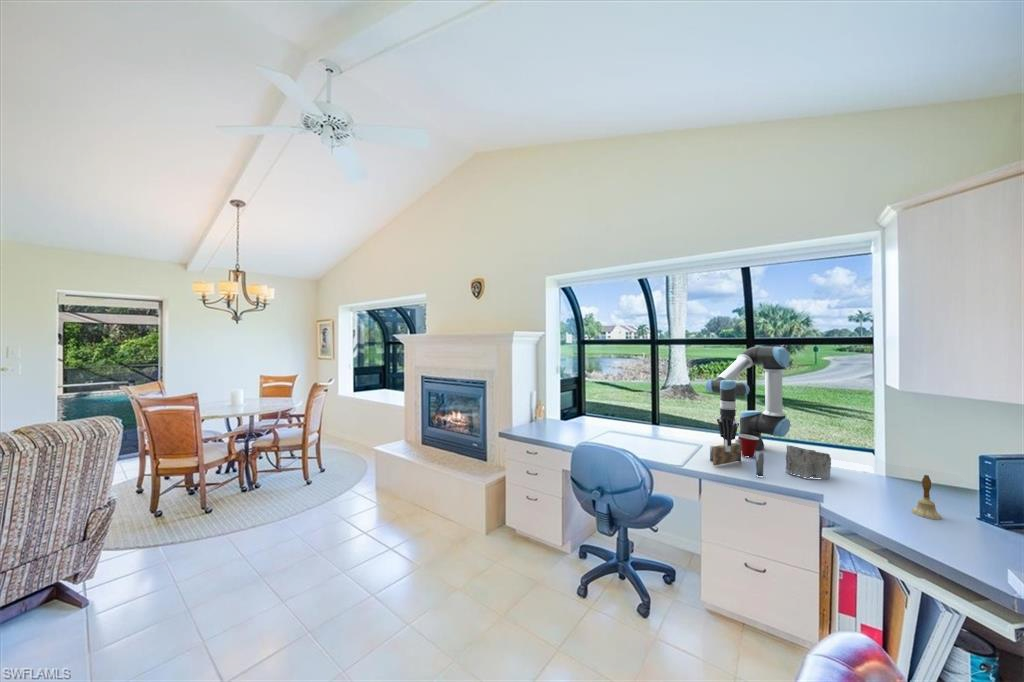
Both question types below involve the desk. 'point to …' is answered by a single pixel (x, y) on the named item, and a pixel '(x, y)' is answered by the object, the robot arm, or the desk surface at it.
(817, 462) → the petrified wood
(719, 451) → the gate
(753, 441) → the plastic cup
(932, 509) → the hand bell
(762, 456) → the gate frame
